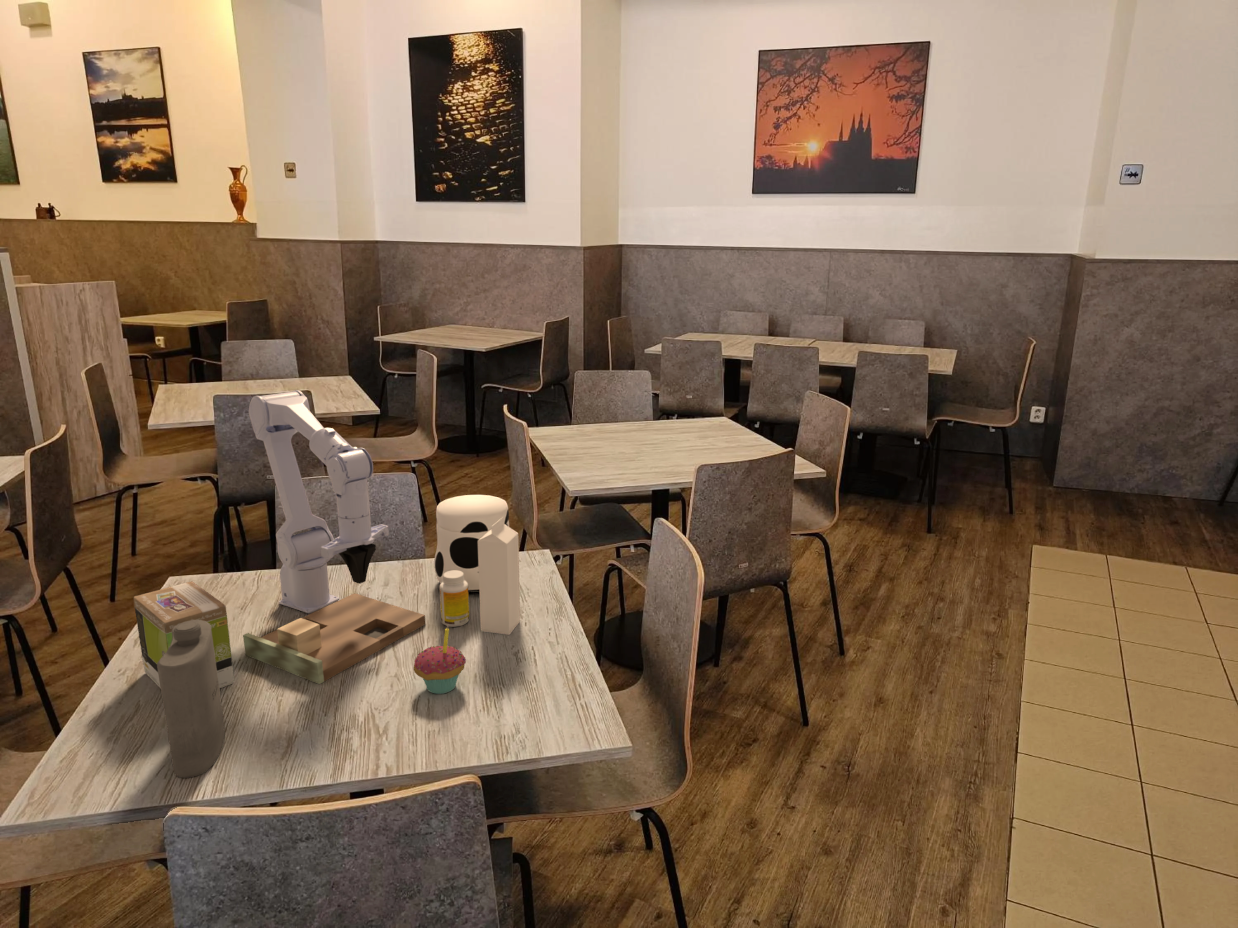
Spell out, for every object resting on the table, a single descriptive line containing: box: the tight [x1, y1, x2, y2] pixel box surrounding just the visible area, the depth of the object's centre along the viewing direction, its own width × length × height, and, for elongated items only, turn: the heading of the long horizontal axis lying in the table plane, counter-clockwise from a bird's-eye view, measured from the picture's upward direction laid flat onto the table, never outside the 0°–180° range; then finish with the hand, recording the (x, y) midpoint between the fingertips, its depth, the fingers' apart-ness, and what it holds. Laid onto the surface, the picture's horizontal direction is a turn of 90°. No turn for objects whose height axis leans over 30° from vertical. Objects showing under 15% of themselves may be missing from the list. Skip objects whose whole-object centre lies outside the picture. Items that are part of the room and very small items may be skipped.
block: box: [276, 617, 322, 655], centre depth 145 cm, size 5×5×4 cm
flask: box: [157, 620, 226, 779], centre depth 118 cm, size 15×6×20 cm, turn 18°
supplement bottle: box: [439, 570, 470, 628], centre depth 160 cm, size 6×6×10 cm
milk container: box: [433, 494, 510, 593], centre depth 177 cm, size 17×17×18 cm
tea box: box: [133, 581, 235, 689], centre depth 138 cm, size 15×10×15 cm
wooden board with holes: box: [242, 592, 426, 685], centre depth 153 cm, size 20×26×4 cm
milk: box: [478, 517, 521, 636], centre depth 157 cm, size 6×6×22 cm
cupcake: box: [413, 625, 467, 695], centre depth 136 cm, size 9×8×12 cm
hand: (359, 581), depth 154 cm, fingers closed
